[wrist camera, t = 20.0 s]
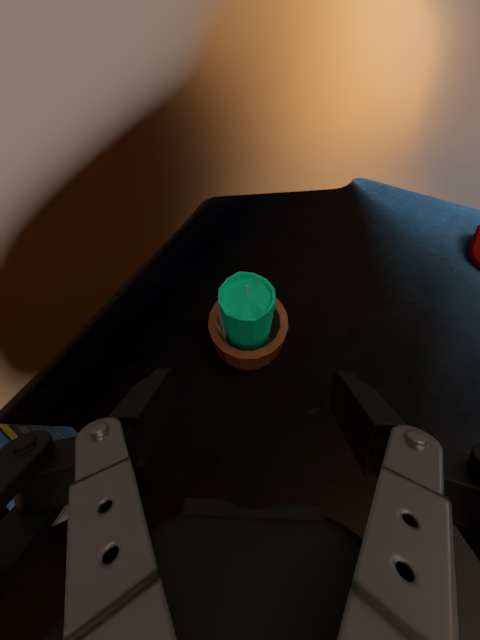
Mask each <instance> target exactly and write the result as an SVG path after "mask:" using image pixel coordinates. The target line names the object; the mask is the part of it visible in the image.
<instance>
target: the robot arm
mask: <svg viewBox="0 0 480 640" xmlns="http://www.w3.org/2000/svg"><path fill="white" fill-rule="evenodd" d="M175 404H176V387H175V378H174V371H173V369H172V368H157V369H156V370H155V371H154V372H153V373H152V375H151V376H150V377H149V378H144V379H143V380H141V381H140V382H138V383H137V384H136V385H135V386H134V387H133V388H132V389H131V390H130V392H129V393H128V394H127V395H126V396H125V398H124V399H123V400H122V401H121V402H120V403H119V404H118V406H117V407H116V408H115V409H114V410H113V411H112V413H111V414H110V415H109V416H108V417H107V418H101V419H98V420H96V421H93V422H91V423H89V424H88V425H86V426H85V427H84V428H82V429H81V430H80V431H79V433H78V434H77V436H74V437H69V438H65V439H60V440H55V441H53V438H52V435H51V433H50V432H49V431H47V430H37V431H32V432H29V433H26V434H23V435H21V436H19V437H17V438H15V439H13V440H12V441H10V442H9V443H7V444H6V445H4V446H3V447H2V448H1V449H0V512H1V511H2V510H3V509H4V508H5V507H6V506H7V505H8V503H9V502H10V501H11V500H12V499H13V500H14V502H15V506H14V507H13V508H12V509H11V511H10V512H9V513H8V514H7V515H6V516H5V517H4V519H3V520H2V521H1V522H0V602H1V601H2V599H3V598H4V596H5V595H6V593H7V592H8V590H9V589H10V587H11V586H12V584H13V583H14V581H15V580H16V578H17V577H18V575H19V574H20V572H21V571H22V569H23V568H24V566H25V565H26V563H27V562H28V560H29V559H30V557H31V556H32V554H33V553H34V551H35V550H36V548H37V547H38V545H39V544H40V543H41V541H42V540H43V538H44V537H45V535H46V534H47V532H48V531H49V529H50V528H51V526H52V525H53V523H54V522H55V520H56V519H57V517H58V516H59V514H60V513H61V511H62V510H63V508H64V507H65V505H69V506H68V534H67V561H66V588H65V611H64V612H63V613H62V614H61V615H60V616H59V617H58V618H57V619H56V620H55V621H54V622H53V623H52V624H51V625H50V626H49V627H48V628H47V629H46V630H45V631H44V632H43V633H42V634H41V635H40V636H39V637H38V638H37V639H36V640H459V632H458V614H457V596H456V578H455V559H454V541H453V524H455V526H456V527H457V529H458V530H459V531H460V533H461V534H462V536H463V537H464V539H465V540H466V542H467V543H468V545H469V546H470V547H471V549H472V550H473V552H474V553H475V555H476V556H477V558H478V559H479V560H480V444H476V445H474V446H473V448H472V450H471V453H470V454H466V453H462V452H458V451H454V450H450V449H446V448H442V447H441V445H440V444H439V442H438V441H437V440H436V439H435V438H433V437H432V436H431V435H429V434H428V433H426V432H424V431H422V430H420V429H418V428H415V427H412V426H408V425H406V424H405V422H404V421H403V420H402V419H401V418H400V417H399V416H398V415H397V413H396V412H395V411H394V410H393V409H392V408H391V407H390V406H389V404H387V402H386V401H385V400H384V399H383V398H381V395H380V394H379V393H378V392H377V391H376V390H375V389H374V388H373V387H371V386H370V385H368V384H366V383H365V382H360V381H359V379H358V378H357V377H356V376H355V375H354V373H353V372H351V371H335V372H334V374H333V380H332V388H331V395H330V406H331V410H332V413H333V415H334V417H335V419H336V421H337V423H338V425H339V427H340V429H341V430H342V432H343V434H344V436H345V438H346V440H347V442H348V444H349V446H350V448H351V450H352V452H353V454H354V456H355V458H356V460H357V462H358V464H359V466H360V468H361V470H362V472H363V474H364V476H376V477H377V478H378V482H377V486H376V490H375V494H374V498H373V502H372V506H371V510H370V514H369V517H368V521H367V525H366V529H365V533H364V537H363V540H362V539H361V538H360V537H359V536H358V535H356V534H355V533H354V532H352V531H351V530H349V529H348V528H347V527H345V526H343V525H342V524H340V523H338V522H336V521H334V520H332V519H330V518H327V517H324V513H323V510H322V506H321V503H306V502H284V503H280V504H276V505H272V506H268V507H264V508H260V509H256V510H250V509H247V508H244V507H241V506H238V505H235V504H232V503H229V502H226V501H223V500H220V499H212V498H188V497H186V499H185V503H184V507H183V510H182V511H178V512H175V513H173V514H170V515H168V516H166V517H164V518H162V519H161V520H159V521H158V522H156V523H155V524H153V525H152V526H151V527H149V528H148V527H147V523H146V519H145V515H144V511H143V507H142V503H141V499H140V496H139V492H138V488H137V484H136V480H135V476H134V472H133V469H134V467H135V466H141V467H146V465H147V463H148V461H149V459H150V457H151V455H152V453H153V451H154V449H155V447H156V445H157V443H158V440H159V438H160V436H161V434H162V432H163V430H164V428H165V426H166V424H167V422H168V420H169V418H170V416H171V414H172V412H173V410H174V407H175Z"/></svg>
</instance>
